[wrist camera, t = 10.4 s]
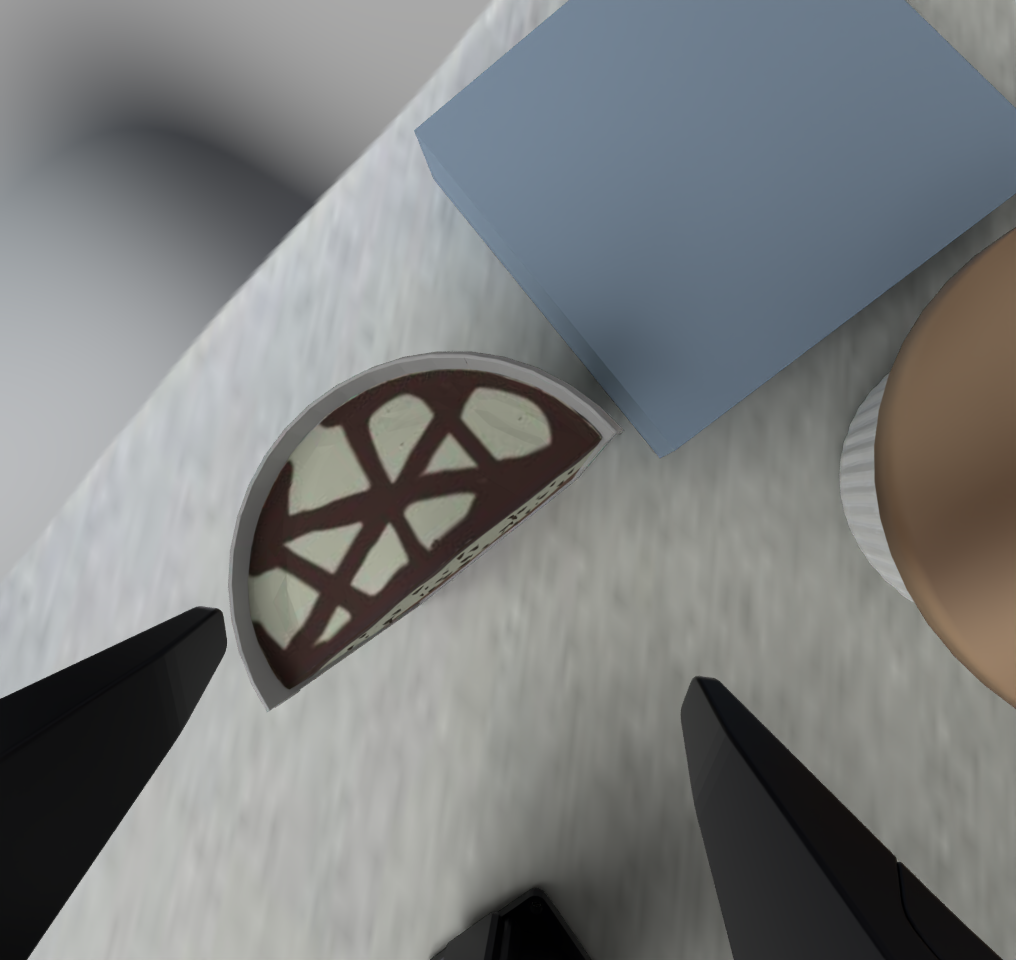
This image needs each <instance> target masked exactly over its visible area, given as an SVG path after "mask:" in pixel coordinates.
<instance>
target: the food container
mask: <svg viewBox="0 0 1016 960" xmlns="http://www.w3.org/2000/svg"><path fill="white" fill-rule="evenodd" d="M623 431H624V430H623V429H622V428H621V427H620V426H619V425H618V424H617V423H616V422H615V421H614V420H613V419H612V418H611V417H610V416H609V415H608V414H607V413H606V412H605V411H604V410H603V409H602V408H601V407H600V406H599V405H597V404H596V403H595V402H593V401H592V400H591V399H589V398H588V397H586V396H585V395H584V394H582V393H581V392H580V391H578V390H577V389H576V388H574V387H573V386H572V385H570V384H568V383H567V382H565V381H563V380H561V379H559V378H557V377H555V376H553V375H551V374H549V373H547V372H545V371H543V370H541V369H539V368H537V367H534V366H531V365H528V364H525V363H522V362H519V361H516V360H513V359H509V358H506V357H502V356H495V355H489V354H483V353H476V352H432V353H426V354H419V355H413V356H407V357H402V358H399V359H396V360H393V361H390V362H387V363H384V364H381V365H378V366H375V367H372V368H370V369H368V370H366V371H363V372H361V373H359V374H358V375H356V376H354V377H352V378H350V379H348V380H346V381H344V382H342V383H340V384H338V385H336V386H335V387H333V388H332V389H330V390H329V391H328V392H326V393H325V394H324V395H322V396H321V397H319V398H318V399H317V400H315V401H314V402H313V403H311V404H310V405H308V406H307V407H306V408H305V409H304V410H303V411H302V412H301V413H300V414H299V415H298V416H297V417H296V418H295V419H294V420H293V421H292V422H291V423H290V424H289V425H288V426H287V427H286V428H285V429H284V430H283V432H282V433H281V435H280V436H279V437H278V439H277V440H276V441H275V443H274V444H273V445H272V447H271V448H270V449H269V451H268V452H267V453H266V455H265V456H264V458H263V460H262V462H261V463H260V465H259V467H258V469H257V471H256V473H255V475H254V476H253V478H252V480H251V482H250V484H249V486H248V489H247V491H246V494H245V497H244V500H243V502H242V505H241V508H240V511H239V513H238V516H237V520H236V525H235V530H234V535H233V539H232V544H231V549H230V563H229V579H228V588H229V600H230V612H231V620H232V625H233V629H234V633H235V638H236V642H237V646H238V651H239V654H240V656H241V659H242V661H243V664H244V666H245V669H246V672H247V674H248V677H249V679H250V682H251V684H252V686H253V688H254V690H255V691H256V693H257V695H258V697H259V699H260V700H261V702H262V704H263V706H264V707H265V709H266V711H267V712H268V711H270V710H271V709H273V708H274V707H277V706H278V705H280V704H281V703H283V702H285V701H286V700H288V699H289V698H291V697H292V696H294V695H295V694H297V693H298V692H299V691H300V689H301V688H303V687H304V686H306V685H307V684H309V683H310V682H311V681H313V680H314V679H316V678H317V677H318V676H320V675H321V674H323V673H324V672H326V671H327V670H328V669H330V668H331V667H333V666H334V665H336V664H337V663H338V662H340V661H341V660H343V659H344V658H346V657H347V656H348V655H350V654H351V653H353V652H354V651H355V650H357V649H358V648H360V647H361V646H363V645H364V644H365V643H367V642H368V641H370V640H371V639H373V638H374V637H375V636H377V635H378V634H380V633H381V632H382V631H384V630H385V629H387V628H388V627H390V626H391V625H392V624H394V623H395V622H397V621H398V620H400V619H401V618H402V617H404V616H405V615H407V614H408V613H409V612H411V611H412V610H414V609H415V608H417V607H418V606H419V605H420V604H422V603H423V602H424V601H425V600H427V599H428V598H429V597H430V596H432V595H433V594H434V593H435V592H437V591H438V590H439V589H440V588H442V587H443V586H444V585H445V584H447V583H448V582H449V581H450V580H452V579H453V578H454V577H455V576H457V575H458V574H459V573H460V572H462V571H463V570H464V569H465V568H467V567H468V566H469V565H470V564H472V563H473V562H474V561H475V560H477V559H478V558H479V557H480V556H482V555H483V554H484V553H485V552H487V551H488V550H489V549H490V548H492V547H493V546H494V545H495V544H497V543H498V542H499V541H500V540H502V539H503V538H504V537H505V536H507V535H508V534H509V533H510V532H512V531H513V530H514V529H515V528H517V527H518V526H519V525H520V524H522V523H523V522H524V521H525V520H527V519H528V518H529V517H530V516H532V515H533V514H534V513H535V512H537V511H538V510H539V509H540V508H542V507H543V506H544V505H545V504H547V503H548V502H549V501H550V500H552V499H553V498H554V497H555V496H557V495H558V494H559V493H560V492H562V491H563V490H564V489H565V488H567V487H568V486H569V485H570V484H572V483H573V482H574V481H575V480H577V478H578V477H579V476H580V475H581V474H582V473H583V471H584V470H585V469H586V468H587V467H588V466H589V464H590V463H591V462H592V461H593V460H594V459H595V457H596V456H597V455H598V454H599V453H600V452H601V450H602V449H603V448H604V447H605V446H606V445H607V443H608V442H609V441H610V440H611V439H612V438H613V437H614V436H615V435H616V434H621V433H622V432H623Z"/></svg>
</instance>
